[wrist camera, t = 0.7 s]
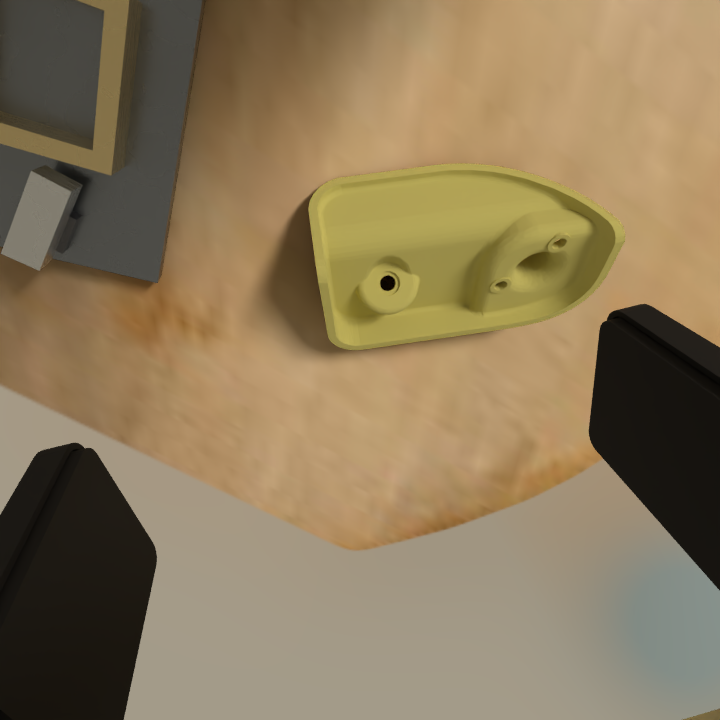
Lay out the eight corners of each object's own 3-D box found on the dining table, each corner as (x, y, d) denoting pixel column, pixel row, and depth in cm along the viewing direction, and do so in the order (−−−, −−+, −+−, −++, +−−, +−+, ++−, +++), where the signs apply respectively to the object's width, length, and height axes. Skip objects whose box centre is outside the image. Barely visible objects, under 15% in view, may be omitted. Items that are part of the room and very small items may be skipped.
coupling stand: (-116, -296, 20) (-204, -383, 16) (225, -125, 25) (219, -163, 21) (-82, 217, 30) (-133, 238, 26) (161, 275, 34) (149, 300, 30)
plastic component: (331, 354, 37) (314, 260, 29) (321, 282, 41) (304, 182, 33) (583, 317, 38) (639, 216, 29) (549, 251, 42) (590, 144, 33)
